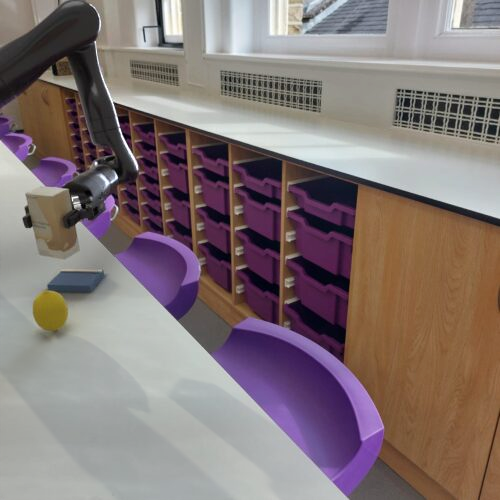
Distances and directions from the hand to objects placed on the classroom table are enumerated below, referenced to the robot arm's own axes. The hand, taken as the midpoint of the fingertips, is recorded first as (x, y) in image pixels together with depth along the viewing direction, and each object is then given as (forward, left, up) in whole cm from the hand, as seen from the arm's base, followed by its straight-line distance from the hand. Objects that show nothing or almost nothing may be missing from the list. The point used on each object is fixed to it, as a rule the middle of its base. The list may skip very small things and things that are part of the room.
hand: (45, 223), depth 85 cm
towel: (-2, +9, -17) cm, 20 cm away
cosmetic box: (0, +3, -7) cm, 8 cm away
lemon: (+2, -7, -17) cm, 19 cm away
